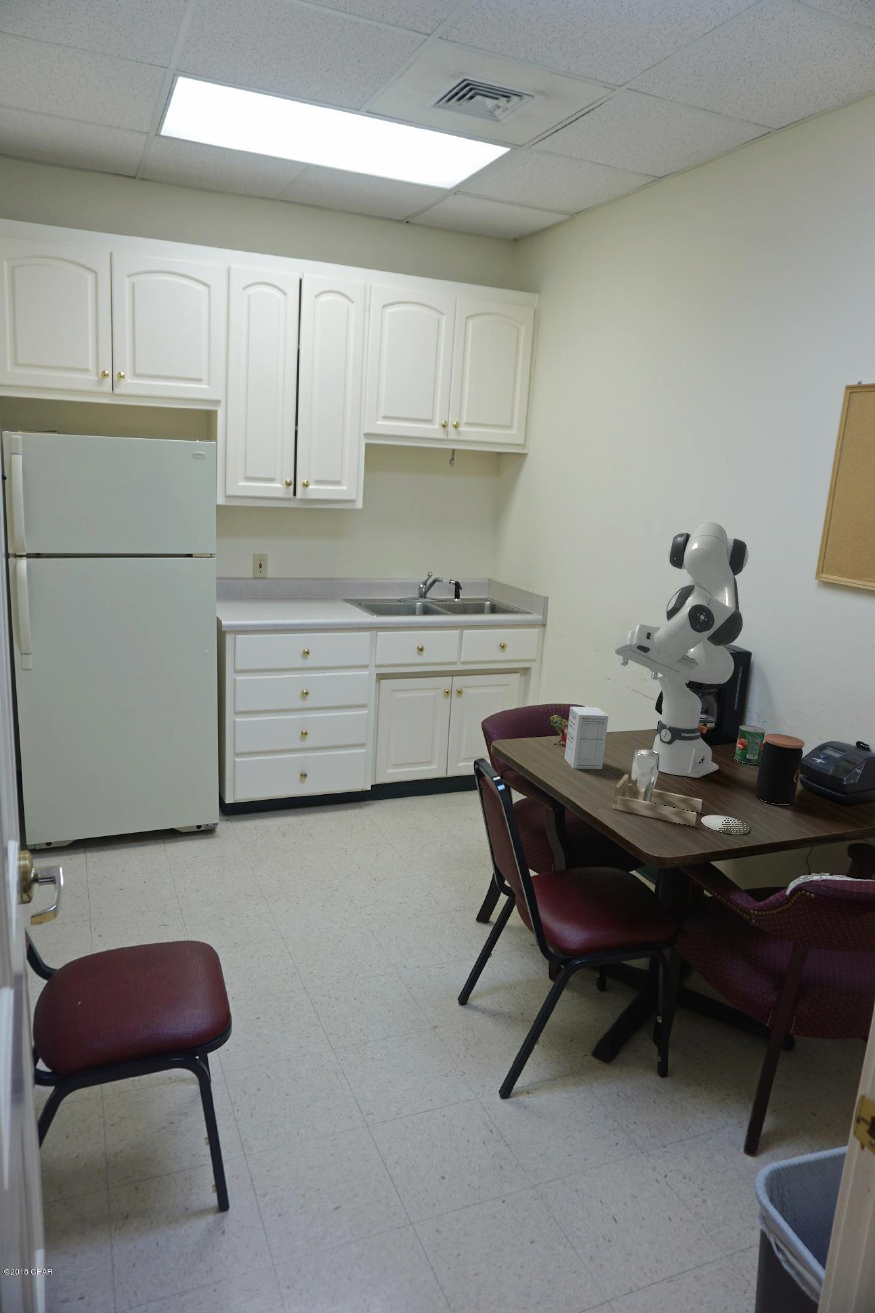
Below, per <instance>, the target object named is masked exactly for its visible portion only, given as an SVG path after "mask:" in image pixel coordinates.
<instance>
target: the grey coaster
mask: <svg viewBox="0 0 875 1313" xmlns="http://www.w3.org/2000/svg"><path fill="white" fill-rule="evenodd" d="M726 818H727V819H726ZM728 818H729V819H728ZM724 820H726V821H724ZM727 820H729V821H727ZM730 820H732V821H730ZM733 820H735V821H733ZM737 820H738V819H736V818H733V817H730V816H725V815H720V814H719V815H717V814H709V815H705V816H703V817H701V819H700V823H701V822H702V823H703V824H704V825H705V826H707V827H709V828H711V829H713V830H717V831H718V830H724V829H719V828H727V827H723V826H742V825H735V824H742V823H738V822H741V821H742V820H740V821H737ZM722 822H723V823H722ZM725 822H730V823H725ZM732 822H733V823H732ZM734 822H736V823H734ZM702 823H701V824H702ZM703 824H702V825H703ZM722 824H731V825H722ZM732 824H734V825H732ZM744 824H746V823H745V822H744ZM704 825H703V826H704ZM705 826H704V827H705ZM744 826H746V825H744ZM707 827H706V828H707ZM749 827H750V826H749ZM749 827H748V828H749ZM728 828H730V827H728ZM731 828H743V827H731ZM745 828H746V827H745ZM711 829H710V830H711ZM713 830H712V831H713ZM725 830H726V829H725ZM729 830H730V829H729ZM731 830H733V829H731ZM734 830H739V829H734ZM740 830H743V829H740ZM744 830H746V829H744ZM748 830H749V829H748ZM720 832H722V831H720ZM732 832H733V831H732ZM734 832H736V831H734ZM738 832H739V831H738ZM741 832H743V831H741ZM732 834H733V833H732ZM734 834H735V833H734ZM738 834H739V833H738ZM741 834H742V833H741Z"/></svg>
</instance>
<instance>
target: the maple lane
mask: <svg viewBox="0 0 875 1313" xmlns="http://www.w3.org/2000/svg"><path fill="white" fill-rule="evenodd" d="M629 776H630V775H629V774H626V773H625V774H624V775H623V776H622V777H621V779H620V780H619V782H618V783H617V784H616V786H615V788H614V795H613V802H612V809H615V810H618V811H624V812H627V813H632V814H636V815H640V816H645V817H649V818H653V819H657V818H658V820H663V821H666V820H667V821H666V822H671V823H676V824H679V823H680V825H683V824H687V825H686V826H688V825H690V826H689V827H692V826H694V827H696V820H697V814H701V811H702V806H703V805H702V803H703V799H700V798H695V797H692V796H687V795H681V794H677V793H672V792H667V791H663V790H658V789H653V792H652V797H651V802H646V801H642V800H637V799H633V798H630V797H631V793H632V783H631V784H630V783H628V782H629ZM655 803H656V804H655ZM664 805H666V806H664ZM673 807H675V808H673ZM682 809H684V810H682ZM687 810H688V811H687ZM691 811H694V812H691ZM696 812H698V813H696Z"/></svg>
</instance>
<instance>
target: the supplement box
mask: <svg viewBox="0 0 875 1313" xmlns="http://www.w3.org/2000/svg"><path fill="white" fill-rule="evenodd" d="M568 714H569V715H568V716H569V717H568V732H567V741H566V744H565V753H564V760H565V761H566V762H567V764H568V765H569V766H570V767H571V768H572V769H573V770H574V769H576V770H578V769H581V770H603V766H604V765H603V764H604V756H605V749H606V748H605V747H606V740H607V732H608V723H609V715H608V714H607V713H606V712H604V711H603V710H602V709H601V708H599V707H589V706H570V707H569V713H568Z"/></svg>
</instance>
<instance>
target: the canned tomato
mask: <svg viewBox="0 0 875 1313" xmlns="http://www.w3.org/2000/svg"><path fill="white" fill-rule="evenodd" d="M765 735H766V730H765V729H764V728H762V727H760V726H756V725H751V724H750V725H748V724H742V725H739V730H738V736H737V741H736V746H735V747H736V748H735V754H734V758H733V759H734V760H735V759H736V760H737V761H736V760H735V761H736V762H738V761H740V762H742V763H741V764H743V763H748V764H747V765H749V764H756V763H759V762H760V759H761V753H762V747H763V743H764V742H765V740H764V736H765ZM740 762H739V763H740Z"/></svg>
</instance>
